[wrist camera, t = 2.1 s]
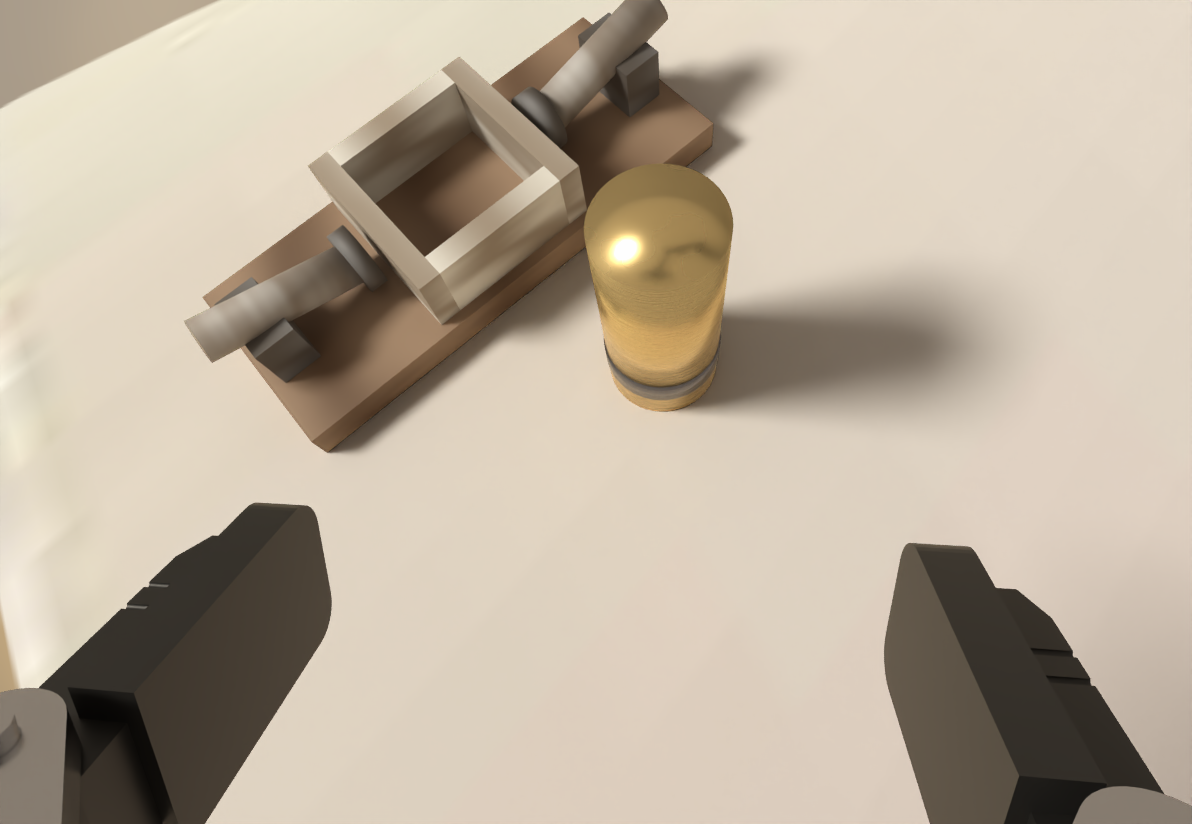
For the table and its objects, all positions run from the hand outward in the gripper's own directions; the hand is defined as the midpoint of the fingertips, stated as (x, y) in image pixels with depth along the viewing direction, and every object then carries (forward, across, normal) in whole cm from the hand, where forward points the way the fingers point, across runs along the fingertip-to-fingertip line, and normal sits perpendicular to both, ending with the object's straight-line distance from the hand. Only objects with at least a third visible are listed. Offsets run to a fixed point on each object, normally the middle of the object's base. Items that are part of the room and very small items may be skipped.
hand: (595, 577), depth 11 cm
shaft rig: (+26, +9, 0) cm, 27 cm away
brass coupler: (+22, 0, +5) cm, 22 cm away
